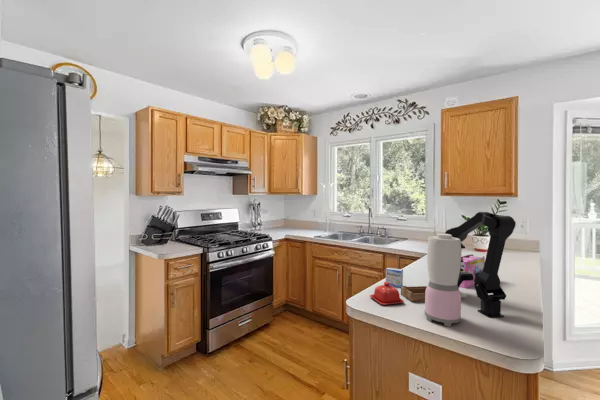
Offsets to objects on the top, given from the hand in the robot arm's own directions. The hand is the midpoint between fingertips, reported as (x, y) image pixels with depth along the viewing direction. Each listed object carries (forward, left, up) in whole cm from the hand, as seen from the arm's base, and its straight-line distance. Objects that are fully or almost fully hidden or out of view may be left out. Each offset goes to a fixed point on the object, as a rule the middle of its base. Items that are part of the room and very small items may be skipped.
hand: (453, 290), depth 134 cm
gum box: (+19, -22, -3) cm, 29 cm away
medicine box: (+18, +20, -3) cm, 27 cm away
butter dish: (-2, +33, -3) cm, 34 cm away
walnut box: (0, +16, -3) cm, 16 cm away
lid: (0, +2, -2) cm, 3 cm away
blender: (-21, +19, -3) cm, 29 cm away
